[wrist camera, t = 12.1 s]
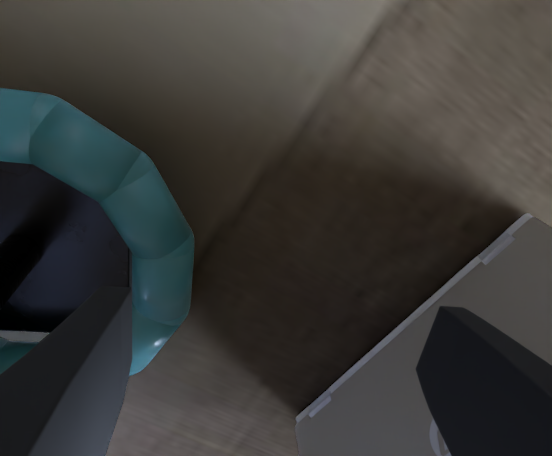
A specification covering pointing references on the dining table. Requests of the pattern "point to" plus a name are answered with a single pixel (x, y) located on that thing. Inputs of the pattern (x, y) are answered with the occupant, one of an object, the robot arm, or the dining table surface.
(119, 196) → the teal segmented ring
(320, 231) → the dining table surface
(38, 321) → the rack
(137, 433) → the dining table surface
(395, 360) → the laptop
